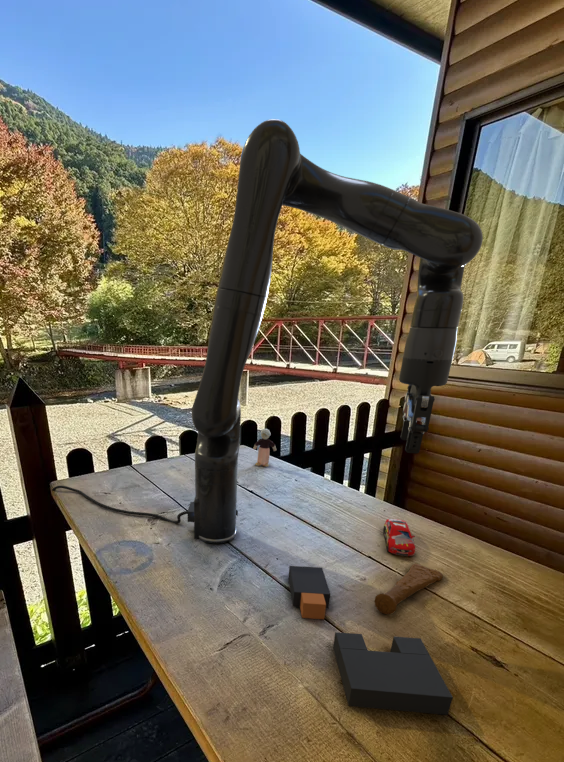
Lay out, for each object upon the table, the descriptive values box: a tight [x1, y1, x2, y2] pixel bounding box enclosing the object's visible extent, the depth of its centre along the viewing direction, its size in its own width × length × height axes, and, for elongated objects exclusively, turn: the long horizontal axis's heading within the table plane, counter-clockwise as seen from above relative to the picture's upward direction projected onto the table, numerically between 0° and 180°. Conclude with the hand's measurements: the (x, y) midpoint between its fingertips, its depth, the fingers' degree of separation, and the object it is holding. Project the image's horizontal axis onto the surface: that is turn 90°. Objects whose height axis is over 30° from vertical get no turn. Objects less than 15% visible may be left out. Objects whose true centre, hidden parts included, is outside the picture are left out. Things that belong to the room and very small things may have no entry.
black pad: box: [332, 631, 454, 716], centre depth 56 cm, size 12×10×3 cm
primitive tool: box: [374, 563, 444, 615], centre depth 73 cm, size 19×6×4 cm, turn 133°
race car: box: [382, 518, 416, 557], centre depth 89 cm, size 13×5×4 cm, turn 161°
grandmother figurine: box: [252, 428, 277, 468], centre depth 136 cm, size 8×4×13 cm, turn 81°
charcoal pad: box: [288, 565, 331, 620], centre depth 72 cm, size 6×11×3 cm, turn 173°
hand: (409, 446), depth 76 cm, fingers open, 8 cm apart
